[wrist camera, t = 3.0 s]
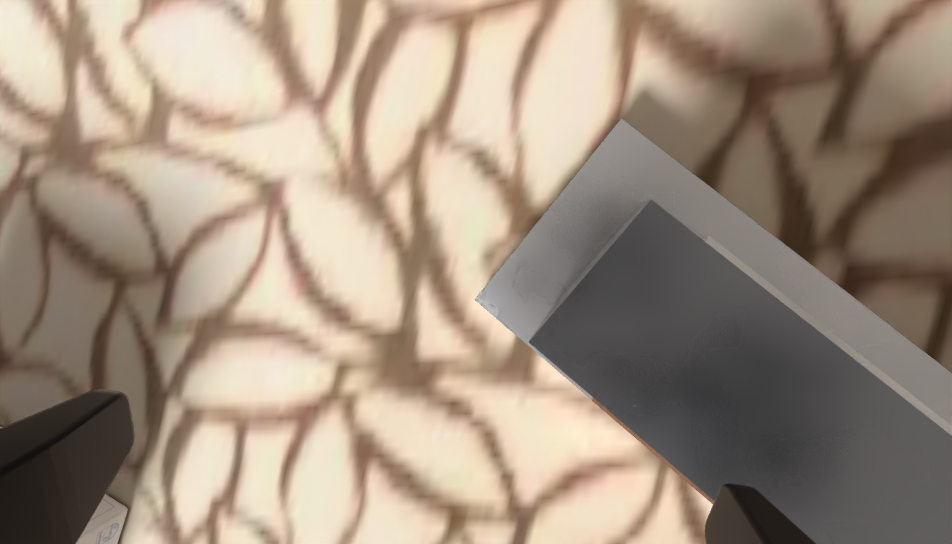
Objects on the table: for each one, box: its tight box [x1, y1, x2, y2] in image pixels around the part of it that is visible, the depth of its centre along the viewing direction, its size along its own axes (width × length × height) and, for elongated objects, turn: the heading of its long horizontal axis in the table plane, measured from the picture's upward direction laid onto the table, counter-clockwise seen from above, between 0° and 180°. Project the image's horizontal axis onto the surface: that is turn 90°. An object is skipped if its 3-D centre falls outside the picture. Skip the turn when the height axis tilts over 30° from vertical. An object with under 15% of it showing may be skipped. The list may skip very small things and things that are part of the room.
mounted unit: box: [475, 118, 952, 544], centre depth 14 cm, size 14×7×6 cm, turn 53°
